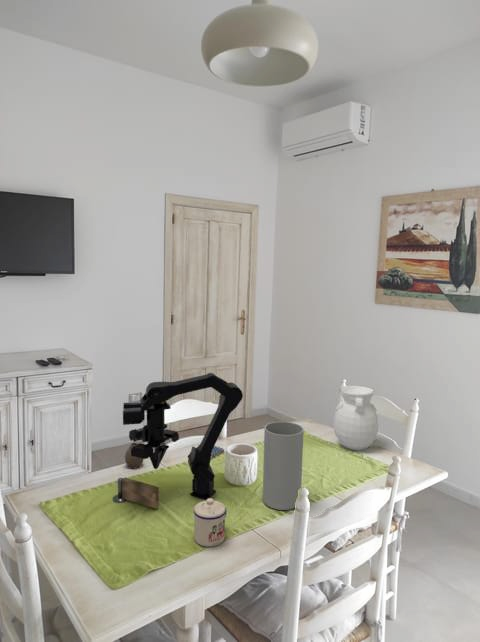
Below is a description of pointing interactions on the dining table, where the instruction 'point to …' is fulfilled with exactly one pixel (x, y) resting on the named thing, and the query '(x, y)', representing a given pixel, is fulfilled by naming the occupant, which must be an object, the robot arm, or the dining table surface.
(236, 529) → the dining table surface
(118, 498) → the hinge pin
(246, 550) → the dining table surface
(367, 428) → the pitcher
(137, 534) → the dining table surface
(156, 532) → the dining table surface
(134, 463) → the vase
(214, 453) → the woven mat
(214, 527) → the teacup with lid
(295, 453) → the cylinder vase
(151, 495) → the brown wooden plank
